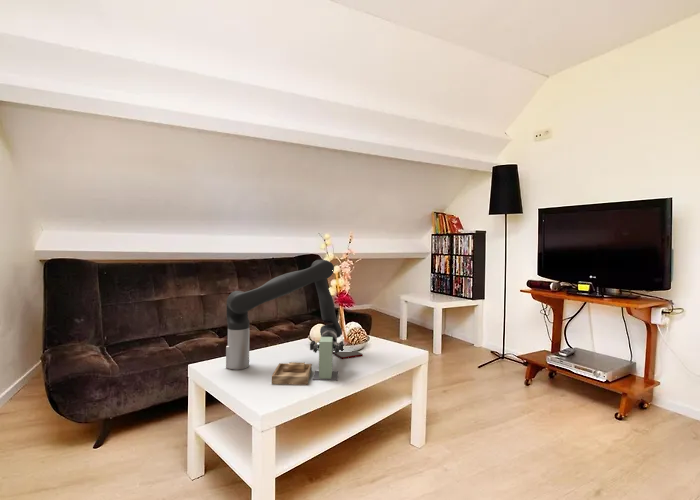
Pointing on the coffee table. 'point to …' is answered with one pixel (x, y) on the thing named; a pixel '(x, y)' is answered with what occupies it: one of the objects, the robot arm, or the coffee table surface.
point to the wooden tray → (291, 375)
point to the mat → (316, 377)
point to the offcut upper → (296, 365)
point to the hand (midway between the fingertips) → (325, 350)
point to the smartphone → (348, 354)
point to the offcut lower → (293, 369)
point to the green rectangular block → (325, 357)
